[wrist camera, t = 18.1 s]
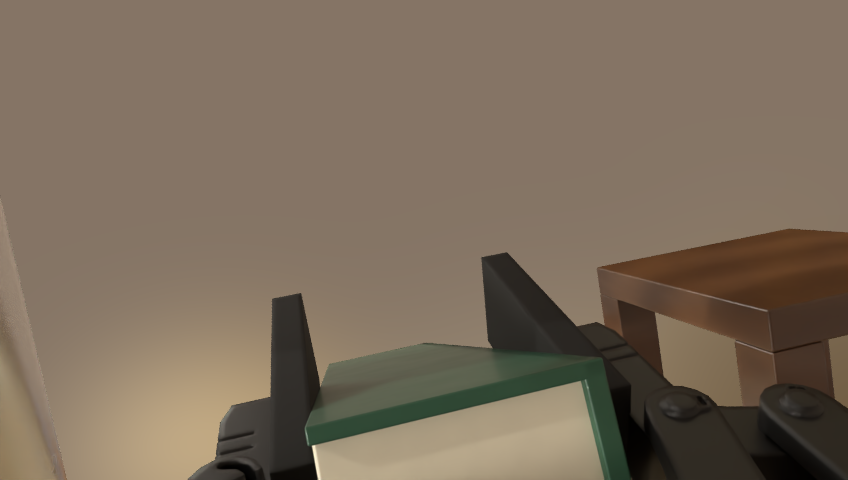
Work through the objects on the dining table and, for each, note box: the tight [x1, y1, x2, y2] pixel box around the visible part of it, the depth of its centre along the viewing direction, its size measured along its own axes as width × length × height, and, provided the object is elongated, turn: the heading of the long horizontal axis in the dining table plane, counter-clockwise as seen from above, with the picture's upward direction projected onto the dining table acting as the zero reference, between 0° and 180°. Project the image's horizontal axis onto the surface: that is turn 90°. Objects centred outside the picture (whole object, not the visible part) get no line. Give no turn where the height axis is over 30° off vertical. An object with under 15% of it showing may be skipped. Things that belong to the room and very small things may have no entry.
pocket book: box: [305, 343, 632, 480], centre depth 20 cm, size 21×5×2 cm, turn 11°
